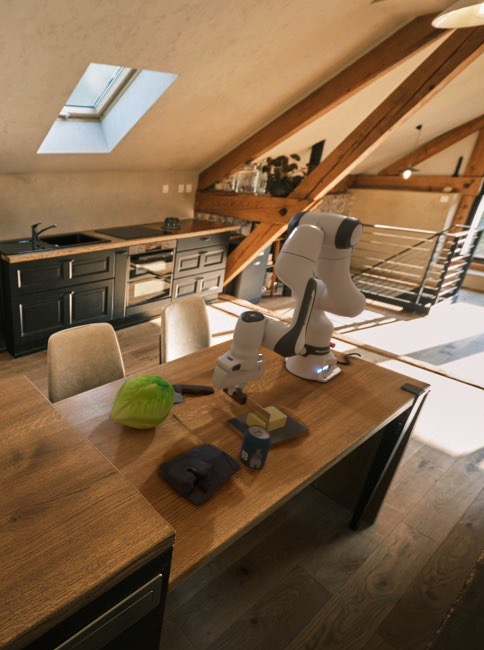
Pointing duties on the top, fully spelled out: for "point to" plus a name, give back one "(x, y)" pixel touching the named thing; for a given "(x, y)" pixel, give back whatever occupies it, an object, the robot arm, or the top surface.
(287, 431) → the butter board
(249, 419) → the butter slice
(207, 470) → the folded black cloth
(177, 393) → the cleaver
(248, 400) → the knife
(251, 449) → the soda can
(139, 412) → the lettuce
